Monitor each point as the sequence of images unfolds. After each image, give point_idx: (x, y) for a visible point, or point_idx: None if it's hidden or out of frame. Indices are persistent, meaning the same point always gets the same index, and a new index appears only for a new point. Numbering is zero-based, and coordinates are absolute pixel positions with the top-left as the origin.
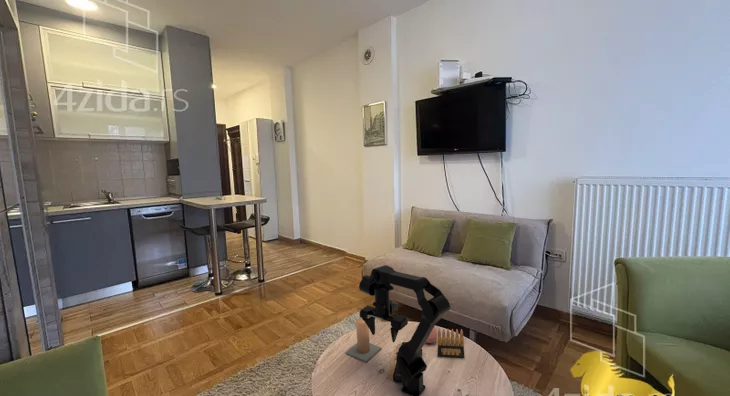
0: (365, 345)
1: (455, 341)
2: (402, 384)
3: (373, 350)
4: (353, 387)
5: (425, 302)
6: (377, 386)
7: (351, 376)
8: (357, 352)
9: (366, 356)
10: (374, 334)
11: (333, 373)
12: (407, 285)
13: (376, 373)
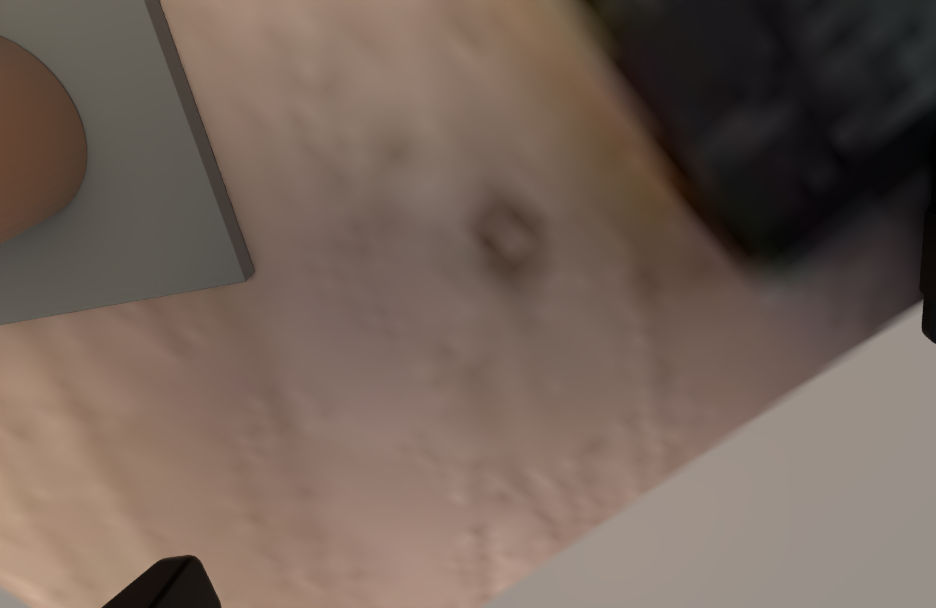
0: (3, 206)
1: None
2: (923, 293)
3: (85, 25)
4: (477, 582)
5: None
6: (651, 444)
7: (338, 512)
8: None
9: (158, 212)
10: (203, 567)
11: None
12: None
13: (496, 318)
